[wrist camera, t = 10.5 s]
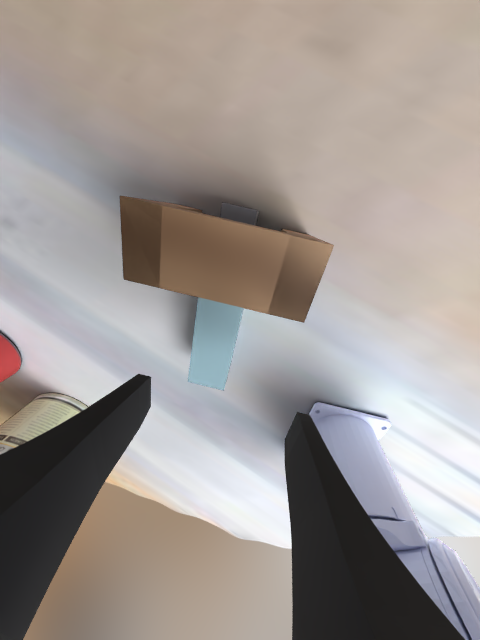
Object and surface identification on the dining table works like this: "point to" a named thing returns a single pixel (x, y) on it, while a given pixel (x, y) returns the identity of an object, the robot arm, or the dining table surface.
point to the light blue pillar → (217, 324)
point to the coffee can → (37, 419)
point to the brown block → (221, 258)
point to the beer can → (8, 358)
